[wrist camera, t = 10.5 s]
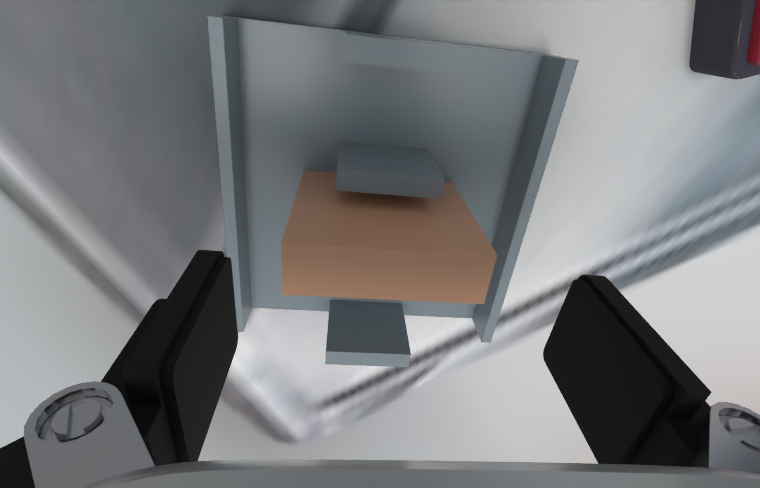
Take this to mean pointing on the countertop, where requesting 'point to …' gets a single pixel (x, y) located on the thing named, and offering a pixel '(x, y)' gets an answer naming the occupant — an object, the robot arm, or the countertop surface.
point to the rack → (375, 153)
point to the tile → (383, 245)
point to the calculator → (726, 38)
